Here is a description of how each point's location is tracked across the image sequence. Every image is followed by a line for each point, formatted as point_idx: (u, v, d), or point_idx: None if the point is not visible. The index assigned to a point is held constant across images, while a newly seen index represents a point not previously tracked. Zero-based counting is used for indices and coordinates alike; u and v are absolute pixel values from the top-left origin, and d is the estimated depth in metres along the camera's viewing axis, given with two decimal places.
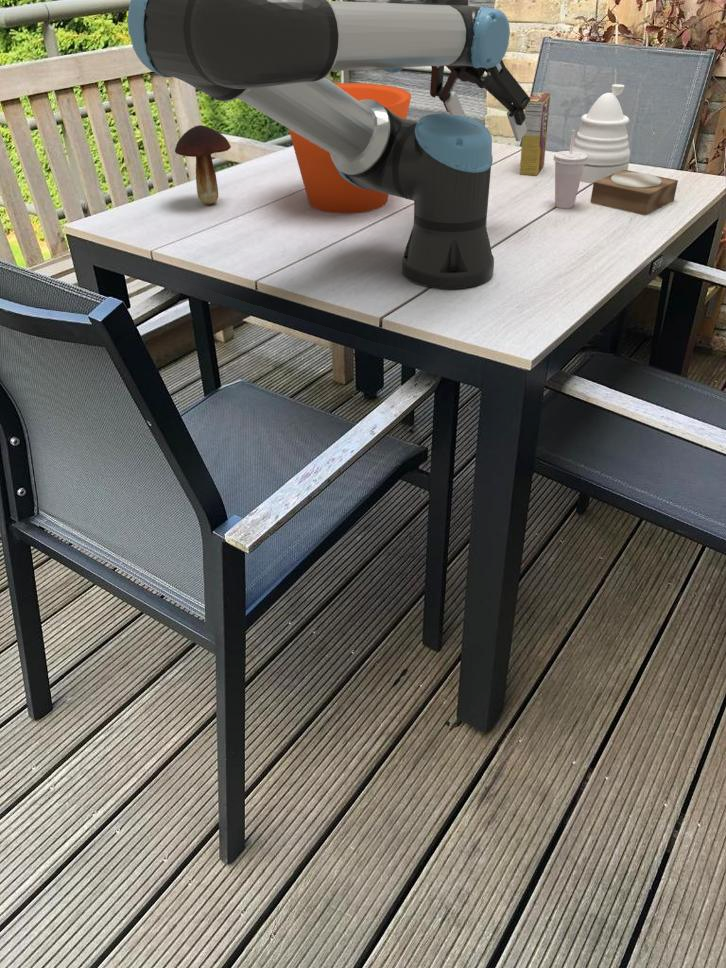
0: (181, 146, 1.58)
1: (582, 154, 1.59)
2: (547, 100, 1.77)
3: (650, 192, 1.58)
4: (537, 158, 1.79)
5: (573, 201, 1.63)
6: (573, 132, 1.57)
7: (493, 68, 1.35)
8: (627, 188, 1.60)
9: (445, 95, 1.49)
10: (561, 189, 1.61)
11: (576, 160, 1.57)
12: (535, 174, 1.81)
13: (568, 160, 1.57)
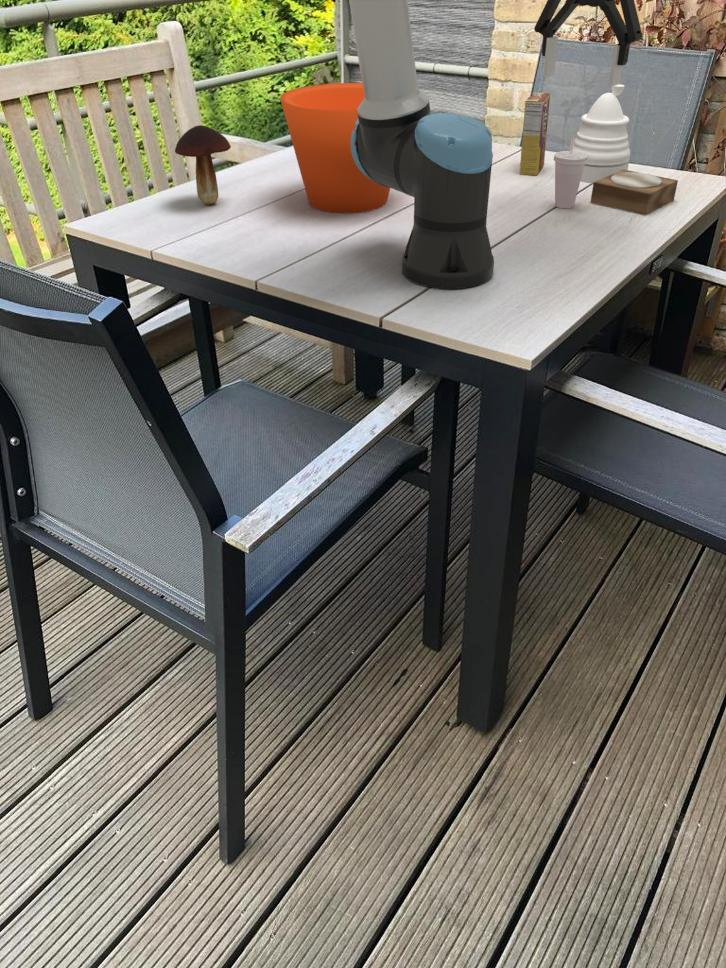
0: (181, 147, 1.58)
1: (582, 154, 1.59)
2: (547, 100, 1.77)
3: (650, 192, 1.58)
4: (537, 158, 1.79)
5: (573, 201, 1.63)
6: (573, 132, 1.57)
7: None
8: (627, 188, 1.60)
9: (551, 27, 1.49)
10: (561, 189, 1.61)
11: (576, 160, 1.57)
12: (535, 174, 1.81)
13: (568, 160, 1.57)
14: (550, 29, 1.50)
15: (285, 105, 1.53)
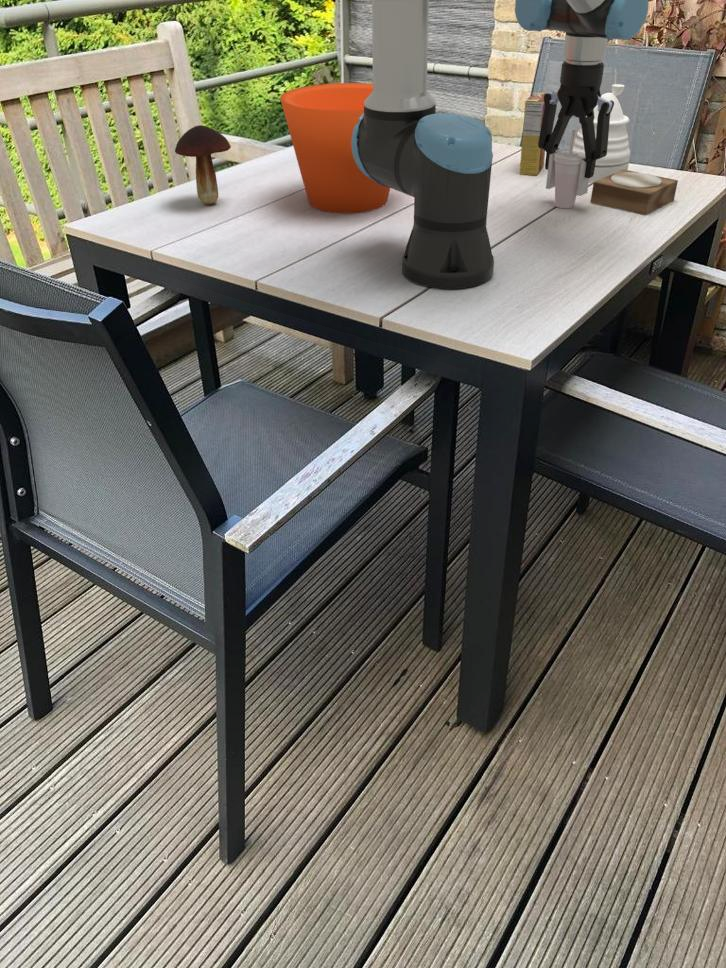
0: (181, 147, 1.58)
1: (582, 154, 1.59)
2: None
3: (650, 192, 1.58)
4: (537, 158, 1.79)
5: (573, 201, 1.63)
6: (573, 132, 1.57)
7: (607, 106, 1.49)
8: (627, 188, 1.60)
9: (552, 143, 1.59)
10: (561, 189, 1.61)
11: (576, 160, 1.57)
12: (535, 174, 1.81)
13: (568, 160, 1.57)
14: (551, 144, 1.59)
15: (285, 105, 1.53)
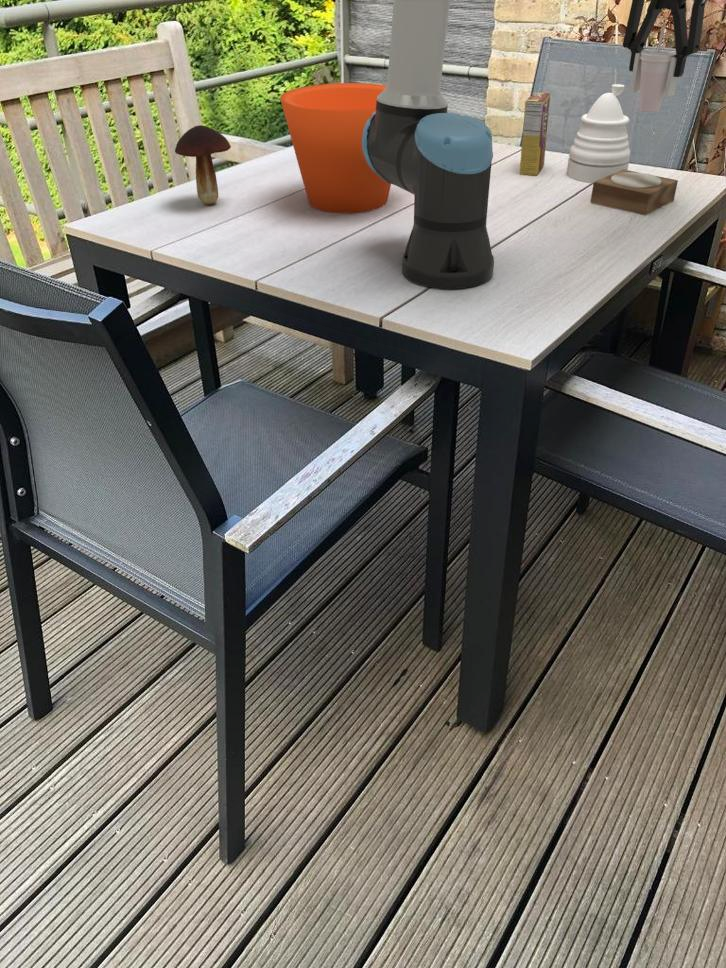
0: (181, 147, 1.58)
1: (671, 52, 1.51)
2: (547, 100, 1.77)
3: (650, 192, 1.58)
4: (537, 158, 1.79)
5: (659, 104, 1.54)
6: (662, 27, 1.48)
7: None
8: (627, 188, 1.60)
9: (639, 40, 1.51)
10: (647, 91, 1.53)
11: (666, 57, 1.48)
12: (535, 174, 1.81)
13: (657, 57, 1.48)
14: (638, 42, 1.51)
15: (285, 105, 1.53)
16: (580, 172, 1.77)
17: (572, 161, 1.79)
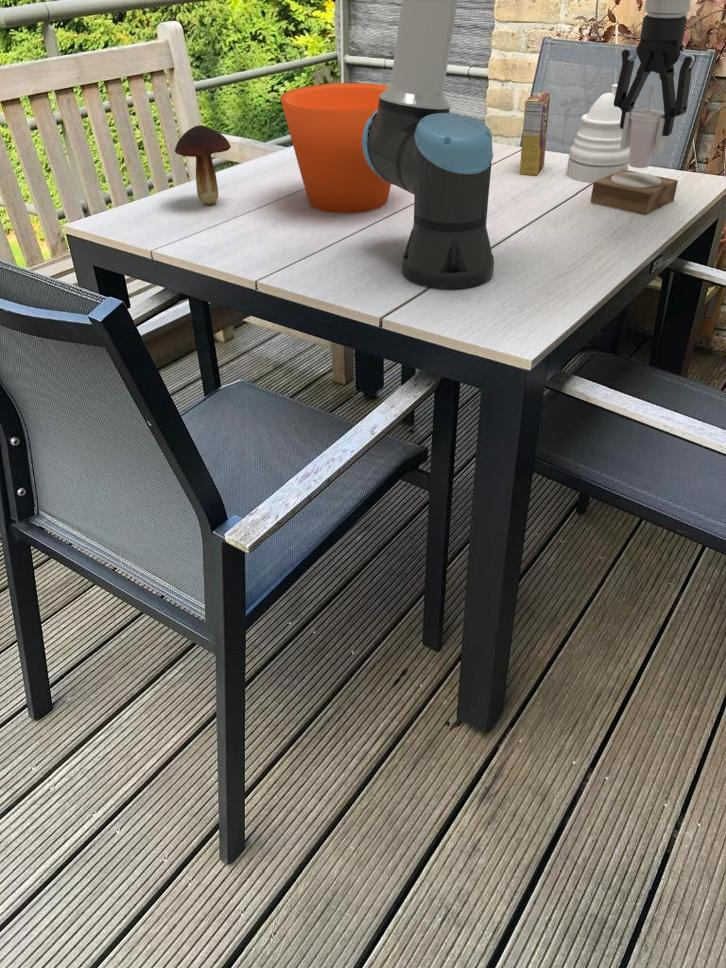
0: (181, 147, 1.58)
1: (659, 112, 1.57)
2: (547, 100, 1.77)
3: (650, 192, 1.58)
4: (537, 158, 1.79)
5: (649, 160, 1.60)
6: (651, 89, 1.54)
7: (690, 60, 1.46)
8: (627, 188, 1.60)
9: (629, 100, 1.57)
10: (637, 148, 1.59)
11: (655, 117, 1.54)
12: (535, 174, 1.81)
13: (646, 117, 1.54)
14: (628, 102, 1.57)
15: (285, 105, 1.53)
16: (580, 172, 1.77)
17: (572, 161, 1.79)
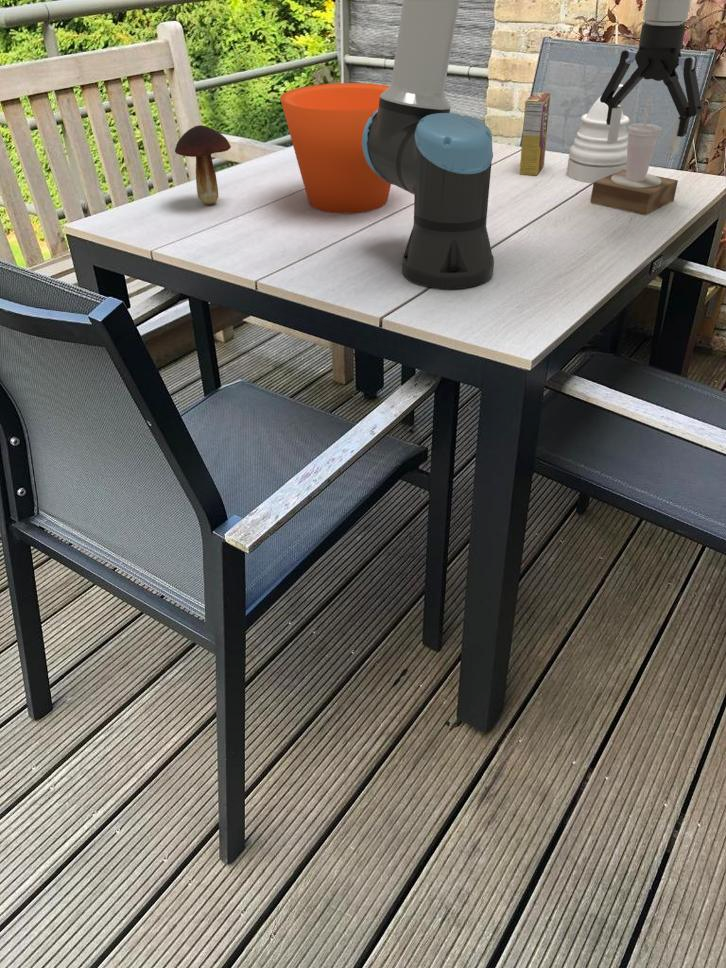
0: (181, 147, 1.58)
1: (656, 127, 1.58)
2: (547, 100, 1.77)
3: (650, 192, 1.58)
4: (537, 158, 1.79)
5: (645, 174, 1.62)
6: (648, 104, 1.56)
7: (690, 60, 1.46)
8: (627, 188, 1.60)
9: (617, 99, 1.58)
10: (633, 162, 1.60)
11: (651, 132, 1.56)
12: (535, 174, 1.81)
13: (643, 132, 1.56)
14: (616, 100, 1.58)
15: (285, 105, 1.53)
16: (580, 172, 1.77)
17: (572, 161, 1.79)
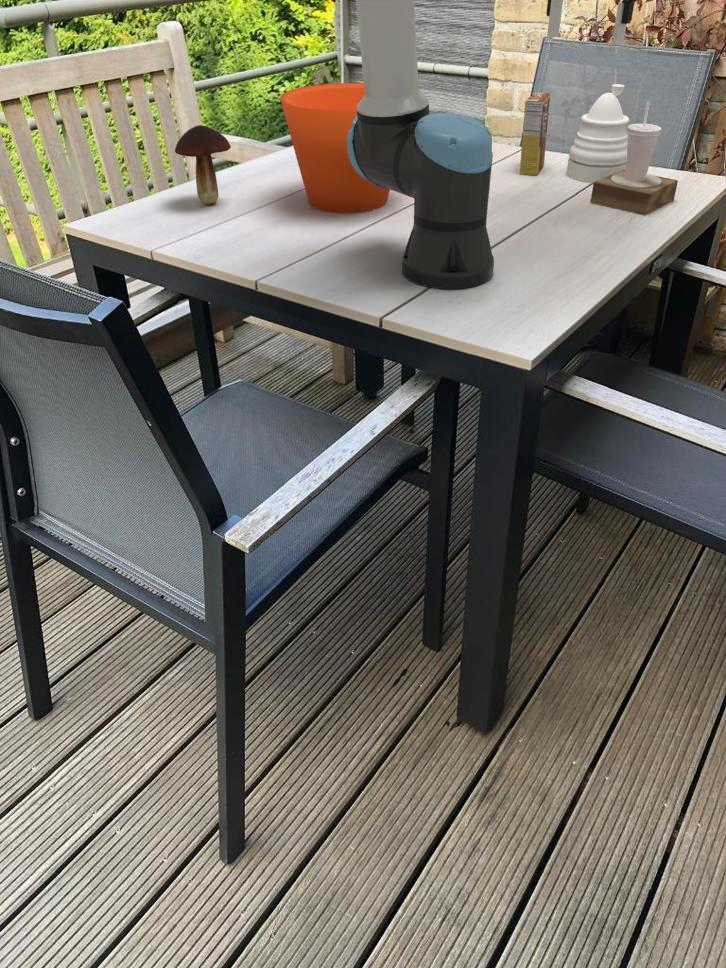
0: (181, 146, 1.58)
1: (656, 127, 1.58)
2: (547, 100, 1.77)
3: (650, 192, 1.58)
4: (537, 158, 1.79)
5: (645, 174, 1.62)
6: (648, 104, 1.56)
7: None
8: (627, 188, 1.60)
9: None
10: (633, 162, 1.60)
11: (651, 132, 1.56)
12: (535, 174, 1.81)
13: (643, 132, 1.56)
14: None
15: (285, 105, 1.53)
16: (580, 172, 1.77)
17: (572, 161, 1.79)
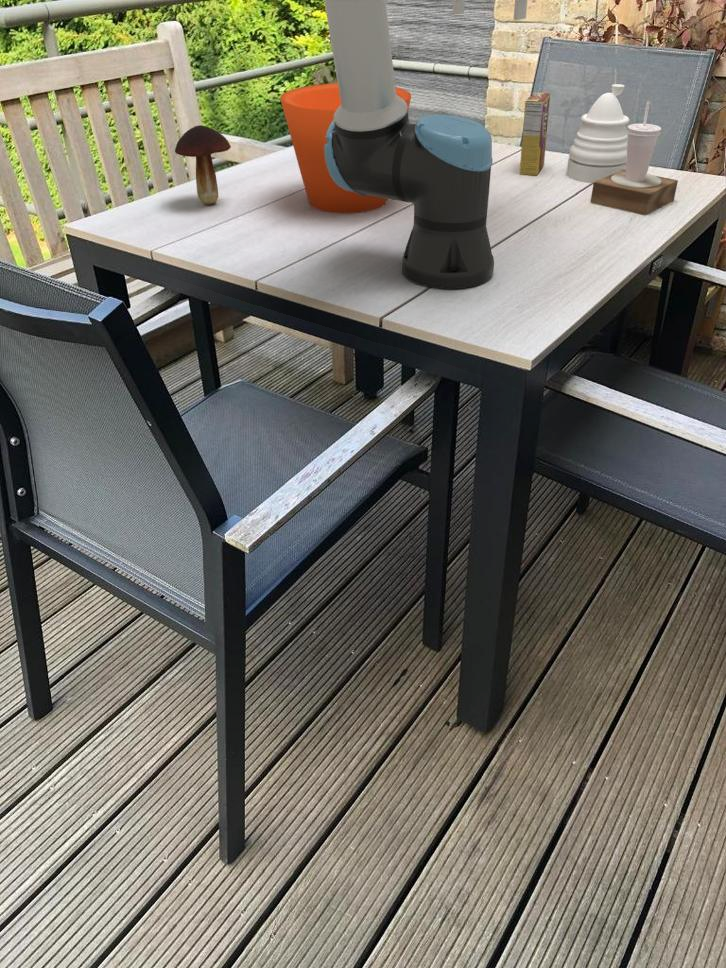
0: (181, 147, 1.58)
1: (656, 126, 1.58)
2: (547, 100, 1.77)
3: (650, 192, 1.58)
4: (537, 158, 1.79)
5: (645, 174, 1.62)
6: (648, 104, 1.56)
7: None
8: (627, 188, 1.60)
9: None
10: (633, 162, 1.60)
11: (651, 132, 1.56)
12: (535, 174, 1.81)
13: (642, 132, 1.56)
14: None
15: (285, 105, 1.53)
16: (580, 172, 1.77)
17: (572, 161, 1.79)
